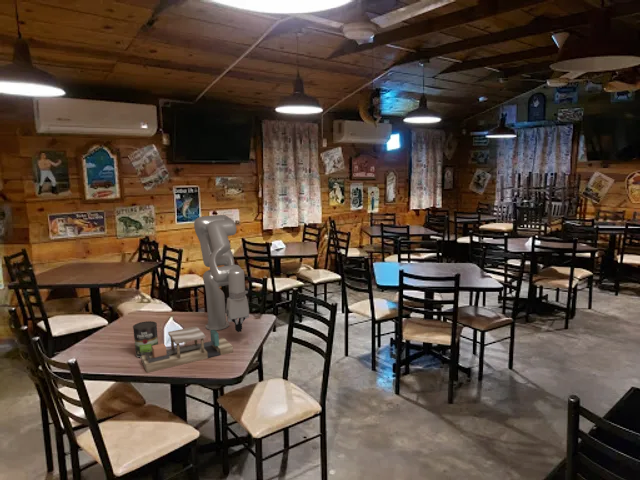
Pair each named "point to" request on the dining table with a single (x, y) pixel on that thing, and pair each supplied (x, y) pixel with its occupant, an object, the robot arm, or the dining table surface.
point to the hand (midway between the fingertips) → (238, 331)
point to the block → (159, 350)
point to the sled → (186, 348)
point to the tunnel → (190, 355)
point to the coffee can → (145, 337)
